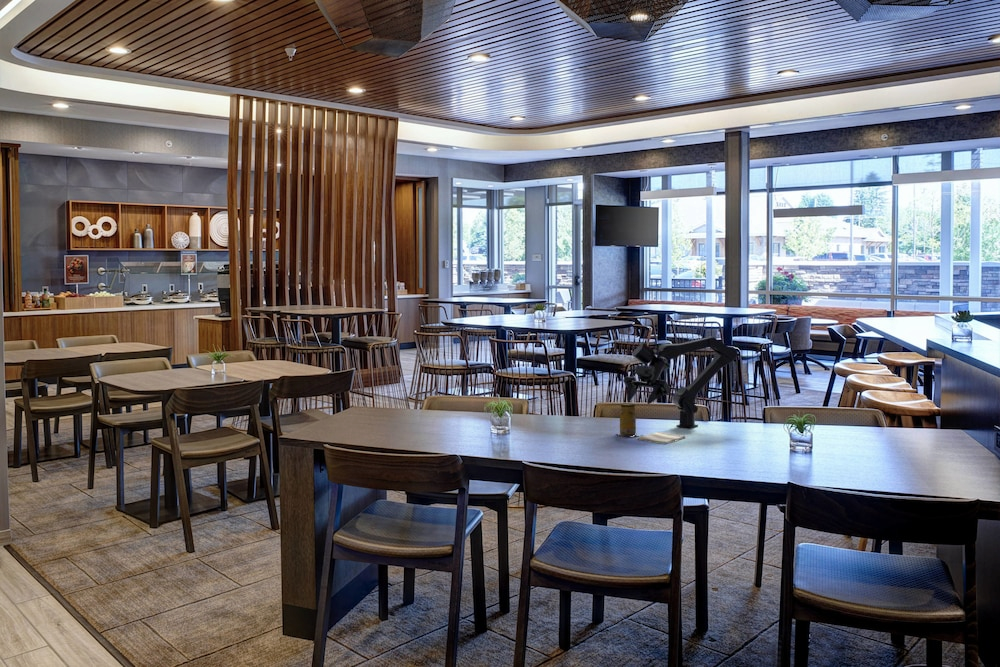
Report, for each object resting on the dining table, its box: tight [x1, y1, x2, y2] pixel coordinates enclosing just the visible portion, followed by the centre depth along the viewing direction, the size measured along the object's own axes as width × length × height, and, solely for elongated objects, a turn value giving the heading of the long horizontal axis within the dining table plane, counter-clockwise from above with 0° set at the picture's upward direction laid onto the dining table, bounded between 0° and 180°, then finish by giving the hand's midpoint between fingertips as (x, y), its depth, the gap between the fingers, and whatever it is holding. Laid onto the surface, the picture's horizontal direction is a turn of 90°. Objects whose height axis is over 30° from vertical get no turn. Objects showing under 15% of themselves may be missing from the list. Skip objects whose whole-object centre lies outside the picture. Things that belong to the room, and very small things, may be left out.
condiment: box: [619, 402, 637, 439], centre depth 304 cm, size 7×8×12 cm
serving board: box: [636, 431, 686, 445], centre depth 297 cm, size 14×12×1 cm
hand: (637, 402), depth 308 cm, fingers open, 9 cm apart
